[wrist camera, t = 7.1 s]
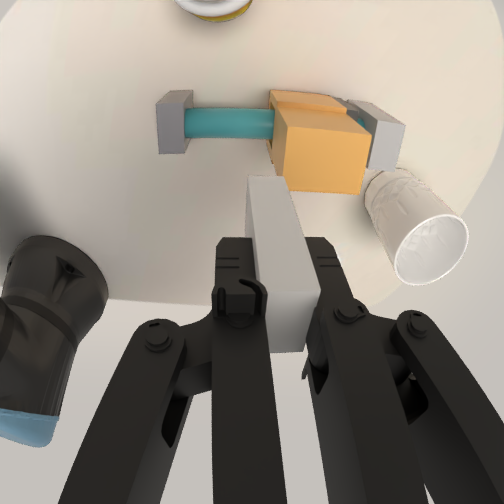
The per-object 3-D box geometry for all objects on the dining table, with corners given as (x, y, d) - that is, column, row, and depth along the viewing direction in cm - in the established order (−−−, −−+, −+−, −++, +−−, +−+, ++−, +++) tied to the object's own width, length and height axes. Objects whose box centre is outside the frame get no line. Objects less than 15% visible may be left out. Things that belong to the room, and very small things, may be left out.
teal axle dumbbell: (171, 135, 27) (155, 165, 22) (170, 87, 24) (150, 104, 19) (363, 144, 29) (393, 175, 23) (372, 100, 26) (406, 121, 20)
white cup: (400, 232, 36) (436, 291, 28) (346, 214, 34) (377, 277, 26) (433, 178, 31) (482, 229, 23) (379, 151, 29) (427, 202, 21)
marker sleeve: (266, 142, 27) (280, 196, 19) (270, 89, 24) (288, 119, 16) (322, 146, 27) (357, 200, 19) (329, 95, 24) (373, 129, 16)
